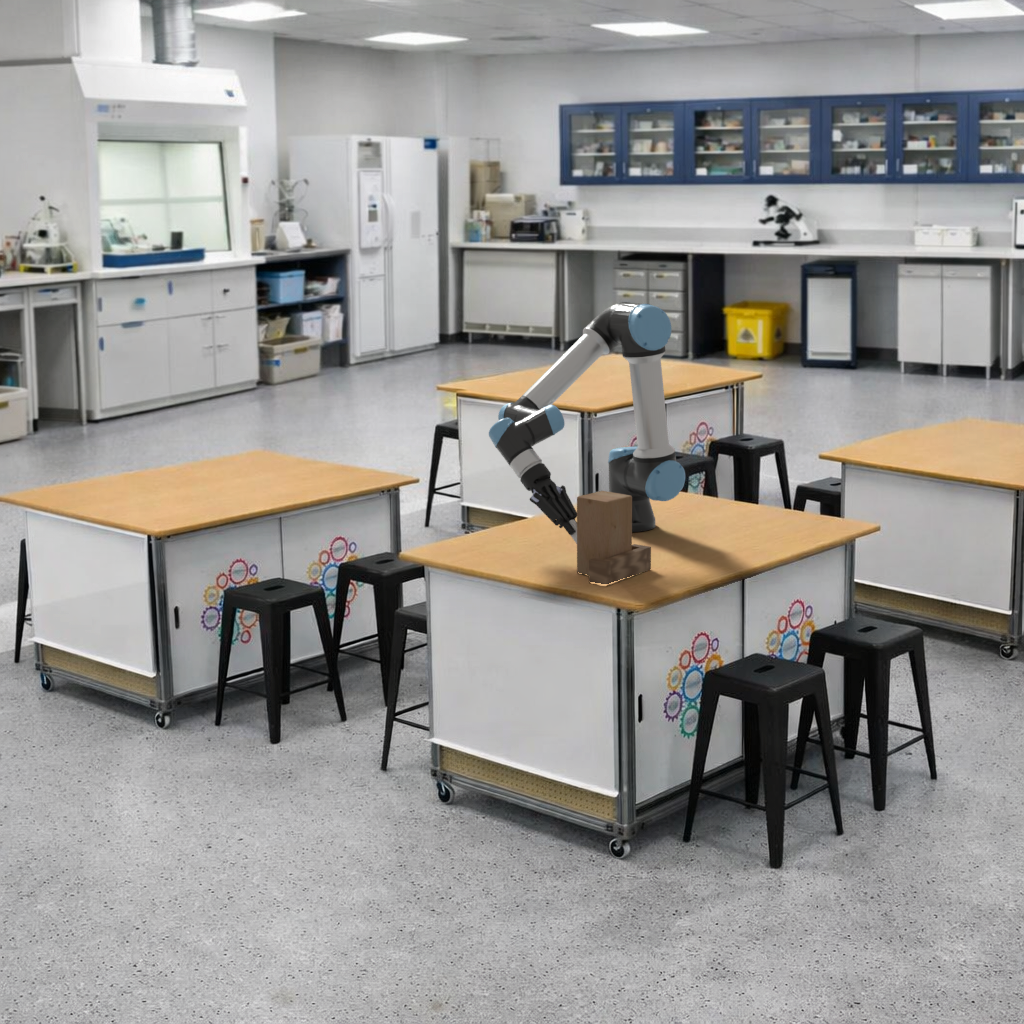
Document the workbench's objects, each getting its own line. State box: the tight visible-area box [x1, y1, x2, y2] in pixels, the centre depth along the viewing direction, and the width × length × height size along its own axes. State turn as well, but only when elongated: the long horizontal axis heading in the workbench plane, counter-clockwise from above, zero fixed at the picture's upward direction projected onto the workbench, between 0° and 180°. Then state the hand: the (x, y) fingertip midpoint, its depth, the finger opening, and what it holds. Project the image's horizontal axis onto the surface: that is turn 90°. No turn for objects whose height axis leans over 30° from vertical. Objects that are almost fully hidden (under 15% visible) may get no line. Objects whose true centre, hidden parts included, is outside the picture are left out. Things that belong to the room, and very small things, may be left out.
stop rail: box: [588, 543, 652, 584], centre depth 359 cm, size 20×5×6 cm, turn 142°
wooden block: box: [576, 490, 633, 575], centre depth 360 cm, size 10×10×20 cm
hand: (583, 542), depth 365 cm, fingers closed
